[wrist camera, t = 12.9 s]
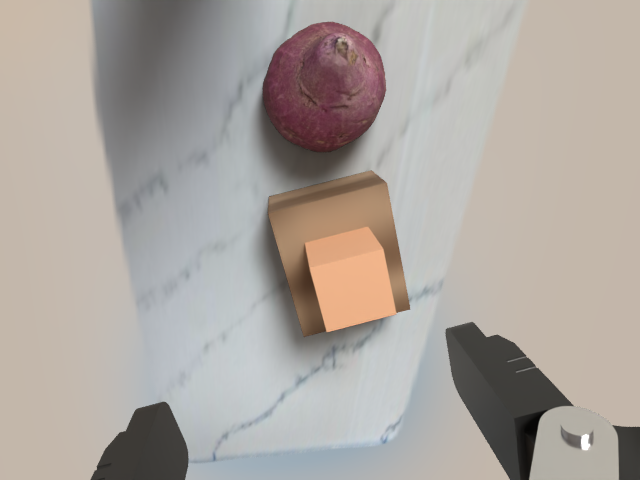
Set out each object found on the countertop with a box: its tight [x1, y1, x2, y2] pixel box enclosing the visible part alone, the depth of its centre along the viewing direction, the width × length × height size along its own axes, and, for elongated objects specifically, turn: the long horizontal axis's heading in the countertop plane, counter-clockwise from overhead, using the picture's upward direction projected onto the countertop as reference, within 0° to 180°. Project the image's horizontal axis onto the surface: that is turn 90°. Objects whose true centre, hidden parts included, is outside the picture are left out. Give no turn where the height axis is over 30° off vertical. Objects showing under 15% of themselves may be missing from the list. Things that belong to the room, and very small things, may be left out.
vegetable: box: [263, 22, 386, 152], centre depth 32 cm, size 10×10×15 cm
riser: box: [268, 170, 410, 337], centre depth 40 cm, size 12×10×6 cm
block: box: [305, 227, 396, 332], centre depth 35 cm, size 6×6×6 cm
